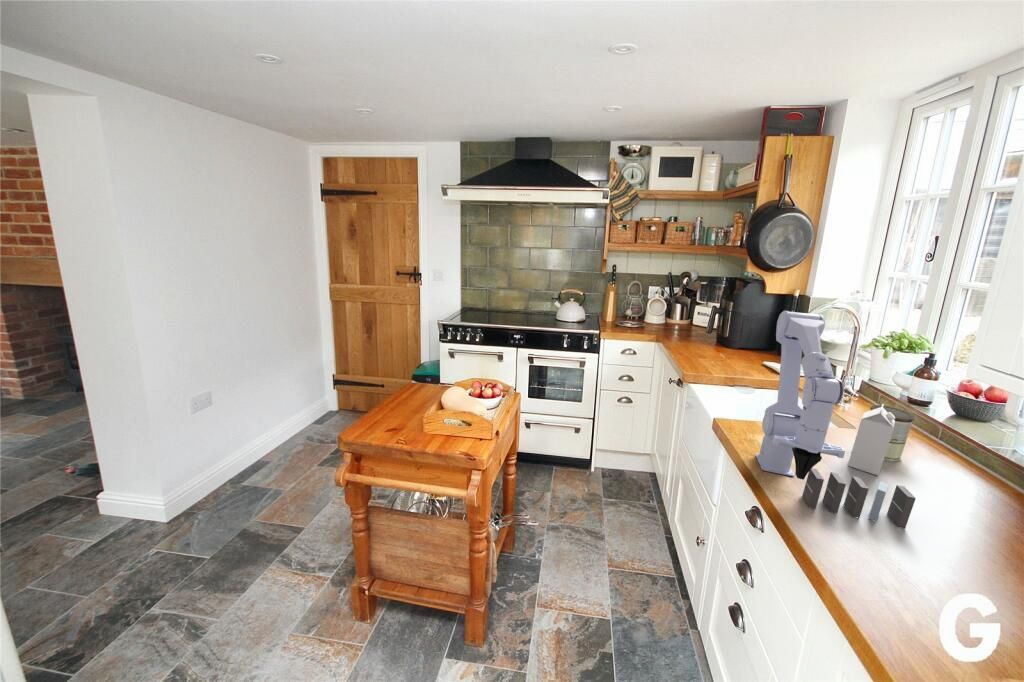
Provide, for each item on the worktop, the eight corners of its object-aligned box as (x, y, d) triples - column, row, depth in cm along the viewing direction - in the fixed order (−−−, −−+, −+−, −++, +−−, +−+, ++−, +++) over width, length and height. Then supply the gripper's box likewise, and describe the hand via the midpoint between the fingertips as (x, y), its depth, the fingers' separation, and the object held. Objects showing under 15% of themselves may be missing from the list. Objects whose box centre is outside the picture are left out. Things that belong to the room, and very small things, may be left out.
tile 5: (897, 526, 101) (907, 496, 99) (886, 514, 106) (896, 484, 104) (905, 528, 101) (915, 498, 99) (894, 515, 106) (904, 486, 104)
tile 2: (829, 512, 105) (838, 482, 103) (822, 500, 110) (830, 471, 108) (837, 513, 105) (846, 484, 103) (829, 501, 109) (837, 473, 107)
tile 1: (808, 507, 106) (816, 478, 104) (802, 496, 111) (809, 467, 109) (815, 509, 106) (824, 479, 104) (809, 497, 111) (817, 469, 109)
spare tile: (868, 519, 104) (877, 489, 102) (870, 510, 107) (879, 481, 105) (876, 522, 103) (886, 492, 101) (878, 513, 106) (888, 484, 104)
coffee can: (851, 446, 141) (863, 405, 137) (873, 443, 144) (885, 404, 141) (886, 463, 132) (900, 420, 128) (908, 460, 135) (923, 417, 131)
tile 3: (851, 516, 104) (861, 487, 102) (843, 504, 109) (852, 476, 107) (859, 518, 104) (868, 488, 101) (850, 506, 108) (859, 477, 106)
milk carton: (847, 466, 128) (865, 405, 123) (850, 458, 133) (867, 399, 128) (878, 476, 124) (898, 414, 119) (880, 467, 129) (899, 407, 124)
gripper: (783, 426, 103) (770, 478, 106) (855, 439, 99) (840, 492, 102) (775, 415, 109) (763, 464, 113) (843, 426, 105) (829, 477, 109)
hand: (799, 476), depth 108 cm, fingers closed
